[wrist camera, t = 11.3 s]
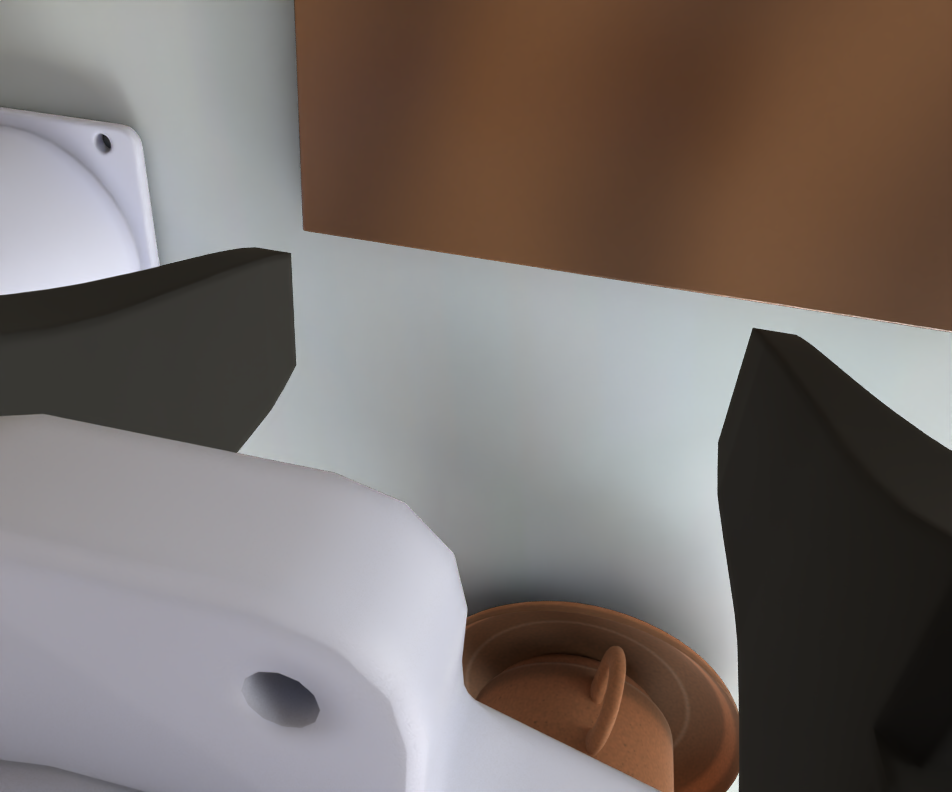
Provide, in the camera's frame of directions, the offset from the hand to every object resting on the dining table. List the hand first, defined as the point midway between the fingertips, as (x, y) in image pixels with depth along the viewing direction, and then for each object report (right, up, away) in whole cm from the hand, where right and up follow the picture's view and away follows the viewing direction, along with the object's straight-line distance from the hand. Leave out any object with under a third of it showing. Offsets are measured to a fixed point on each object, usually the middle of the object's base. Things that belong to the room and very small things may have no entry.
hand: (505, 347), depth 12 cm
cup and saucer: (+3, -12, +18) cm, 21 cm away
